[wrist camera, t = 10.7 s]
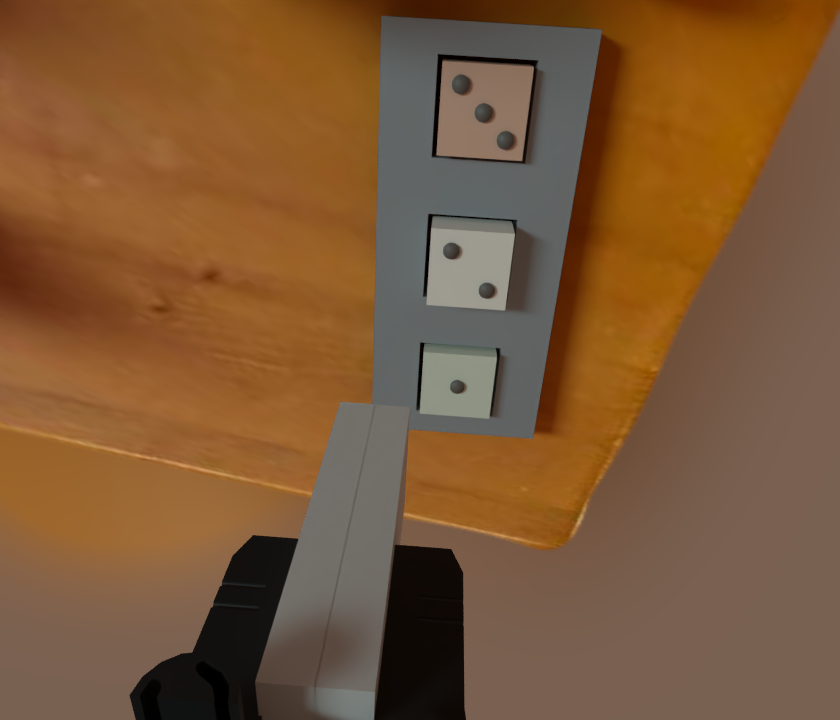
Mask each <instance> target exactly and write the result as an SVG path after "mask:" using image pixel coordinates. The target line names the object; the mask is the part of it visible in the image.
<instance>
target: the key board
mask: <svg viewBox="0 0 840 720" xmlns="http://www.w3.org/2000/svg"><path fill="white" fill-rule="evenodd" d="M601 35H602V30H601V29H589V28H573V27H557V26H541V25H525V24H509V23H493V22H477V21H461V20H445V19H429V18H413V17H397V16H381V53H380V97H379V140H378V184H377V228H376V271H375V315H374V359H373V403H372V404H375V405H389V406H402V407H410V414H409V429H412V430H425V431H438V432H452V433H465V434H478V435H491V436H505V437H518V438H531V439H533V435H534V429H535V424H536V418H537V412H538V406H539V400H540V394H541V388H542V382H543V376H544V371H545V365H546V359H547V353H548V347H549V341H550V335H551V329H552V323H553V317H554V312H555V306H556V300H557V294H558V288H559V282H560V276H561V270H562V264H563V259H564V253H565V247H566V241H567V235H568V229H569V223H570V217H571V211H572V205H573V200H574V194H575V188H576V182H577V176H578V170H579V164H580V158H581V152H582V147H583V141H584V135H585V129H586V123H587V117H588V111H589V105H590V99H591V93H592V88H593V82H594V76H595V70H596V64H597V58H598V52H599V46H600V40H601ZM439 54H445V55H461V56H477V57H493V58H508V59H524V60H534V61H533V67H534V71H533V79H532V86H531V94H530V102H529V110H528V118H527V126H526V134H525V141H524V149H523V157H522V161H514V160H499V159H484V158H469V157H454V156H439V155H436V154H437V150H433V140H434V124H435V108H436V92H437V76H438V60H439ZM429 214H439V215H454V216H468V217H483V218H498V219H512V220H513V228H514V232H515V238H514V245H513V253H512V261H511V269H510V276H509V284H508V292H507V300H506V307H505V311H504V310H490V309H476V308H462V307H448V306H434V305H426V303H427V288H428V283H425V269H426V253H427V237H428V221H429ZM421 342H422V343H435V344H449V345H463V346H477V347H491V348H497V361H496V369H495V377H494V385H493V393H492V400H491V408H490V416H489V419H486V418H472V417H459V416H446V415H432V414H420V400H421V393H418V381H419V365H420V349H421Z"/></svg>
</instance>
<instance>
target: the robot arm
mask: <svg viewBox="0 0 840 720" xmlns="http://www.w3.org/2000/svg"><path fill="white" fill-rule="evenodd" d="M409 414H410V407H402V406H389V405H375V404H362V403H349V402H340V405H339V408H338V411H337V415H336V418H335V421H334V425H333V428H332V431H331V434H330V438H329V441H328V444H327V448H326V451H325V454H324V457H323V461H322V464H321V467H320V471H319V474H318V477H317V480H316V484H315V487H314V490H313V494H312V497H311V500H310V504H309V507H308V510H307V513H306V516H305V520H304V523H303V527H302V530H301V533H300V536H299V539H293V538H281V537H269V536H256V535H253V536H252V537H251V538H250V539H249V540H248V541H247V542H246V543H245V544H244V545H243V546H242V547H241V548H240V549H239V550H238V551H237V552H236V553H235V554H234V555H233V556H232V559H231V561H230V564H229V566H228V568H227V571H226V573H225V576H224V579H223V581H222V586H220V588H219V590H218V593H217V595H216V597H215V600H214V604H213V607H212V608H211V609H210V612H209V614H208V616H207V619H206V621H205V624H204V626H203V628H202V631H201V633H200V636H199V638H198V640H197V643H196V645H195V648H194V650H193V652H192V653H183V654H180V655H177V656H175V657H173V658H170V659H168V660H165V661H163V662H161V663H160V664H158V665H157V666H156V667H154V668H153V669H152V670H151V671H149V672H148V673H147V674H145V675H144V676H143V677H142V678H141V680H140V681H139V683H138V684H137V686H136V687H135V688H134V690H133V691H132V693H131V694H130V699H131V702H132V706H133V711H134V714H135V718H136V720H466V717H465V709H464V626H463V572H462V570H461V568H460V566H459V564H458V562H457V560H456V558H455V556H454V554H453V552H452V550H451V549H443V548H430V547H418V546H405V545H400V540H401V531H402V522H403V513H404V503H405V485H406V467H407V449H408V431H409Z"/></svg>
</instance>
